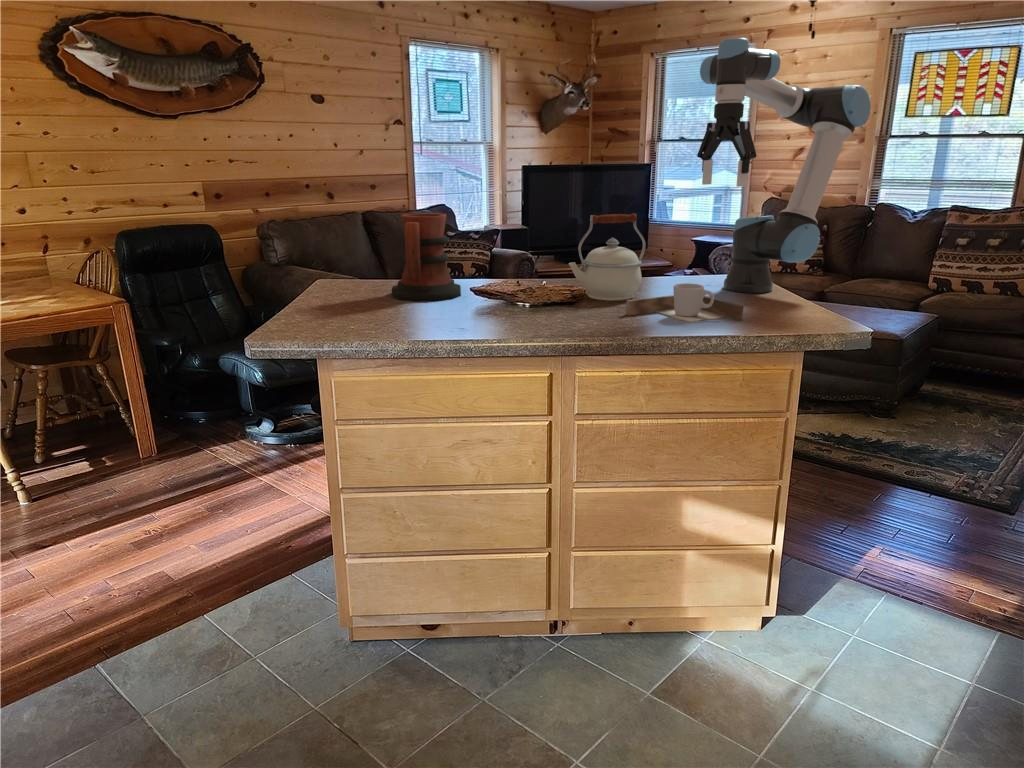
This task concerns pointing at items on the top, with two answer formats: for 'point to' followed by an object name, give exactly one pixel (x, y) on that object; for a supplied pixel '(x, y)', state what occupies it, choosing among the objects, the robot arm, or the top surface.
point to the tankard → (425, 261)
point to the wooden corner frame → (666, 307)
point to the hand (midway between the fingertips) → (723, 185)
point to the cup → (690, 299)
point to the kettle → (610, 265)
